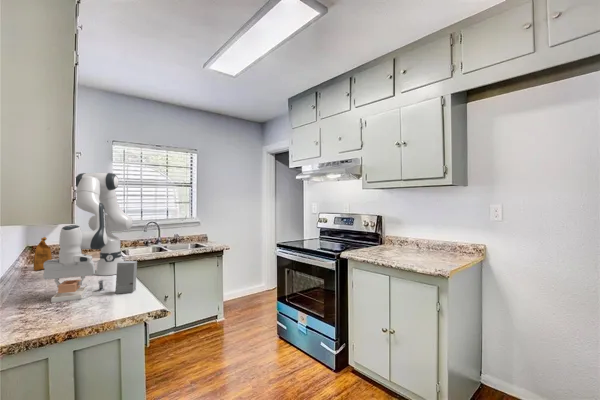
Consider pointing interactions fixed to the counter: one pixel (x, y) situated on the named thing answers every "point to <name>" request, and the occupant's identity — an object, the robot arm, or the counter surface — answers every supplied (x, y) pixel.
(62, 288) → the brown open box
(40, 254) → the coffee package
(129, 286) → the skincare box
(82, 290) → the tray
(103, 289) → the stake
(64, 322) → the counter surface
